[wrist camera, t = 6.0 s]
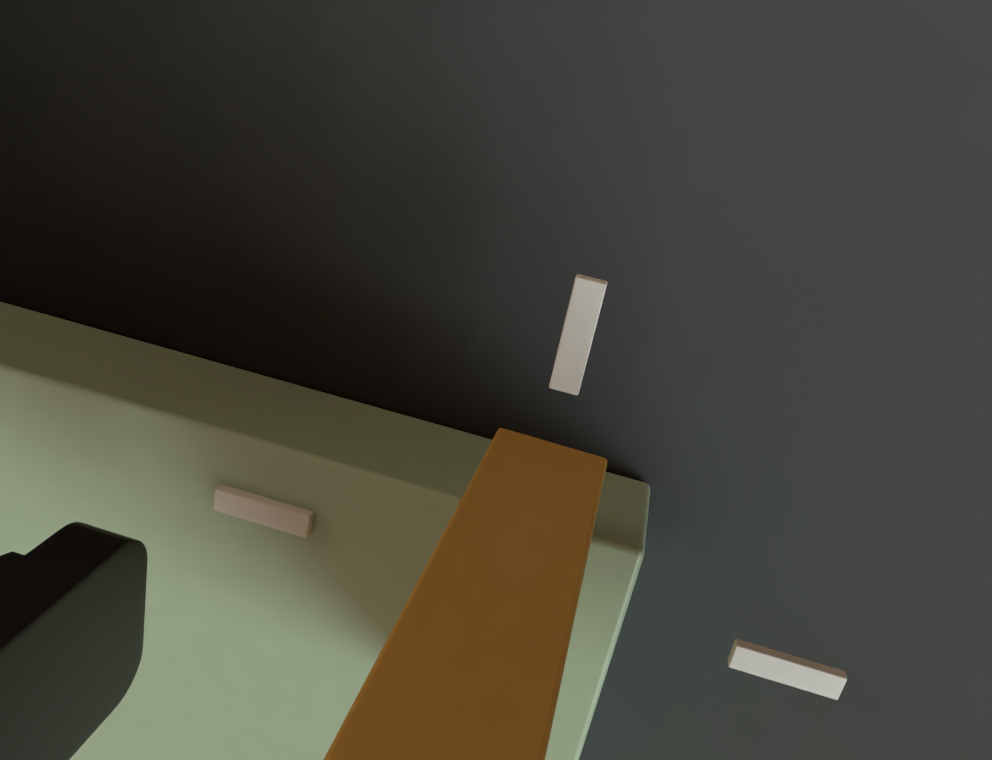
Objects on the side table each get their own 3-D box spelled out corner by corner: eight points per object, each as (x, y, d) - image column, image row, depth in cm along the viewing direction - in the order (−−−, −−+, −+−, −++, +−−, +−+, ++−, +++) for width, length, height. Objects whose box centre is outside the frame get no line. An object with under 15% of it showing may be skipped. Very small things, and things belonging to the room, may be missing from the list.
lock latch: (499, 425, 10) (304, 791, 5) (609, 457, 10) (521, 868, 5) (435, 694, 12) (239, 1174, 7) (528, 725, 12) (400, 1242, 7)
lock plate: (932, 322, 11) (986, 380, 9) (656, 974, 16) (651, 1103, 14) (-70, 75, 13) (-210, 78, 11) (-32, 731, 18) (-121, 814, 16)
